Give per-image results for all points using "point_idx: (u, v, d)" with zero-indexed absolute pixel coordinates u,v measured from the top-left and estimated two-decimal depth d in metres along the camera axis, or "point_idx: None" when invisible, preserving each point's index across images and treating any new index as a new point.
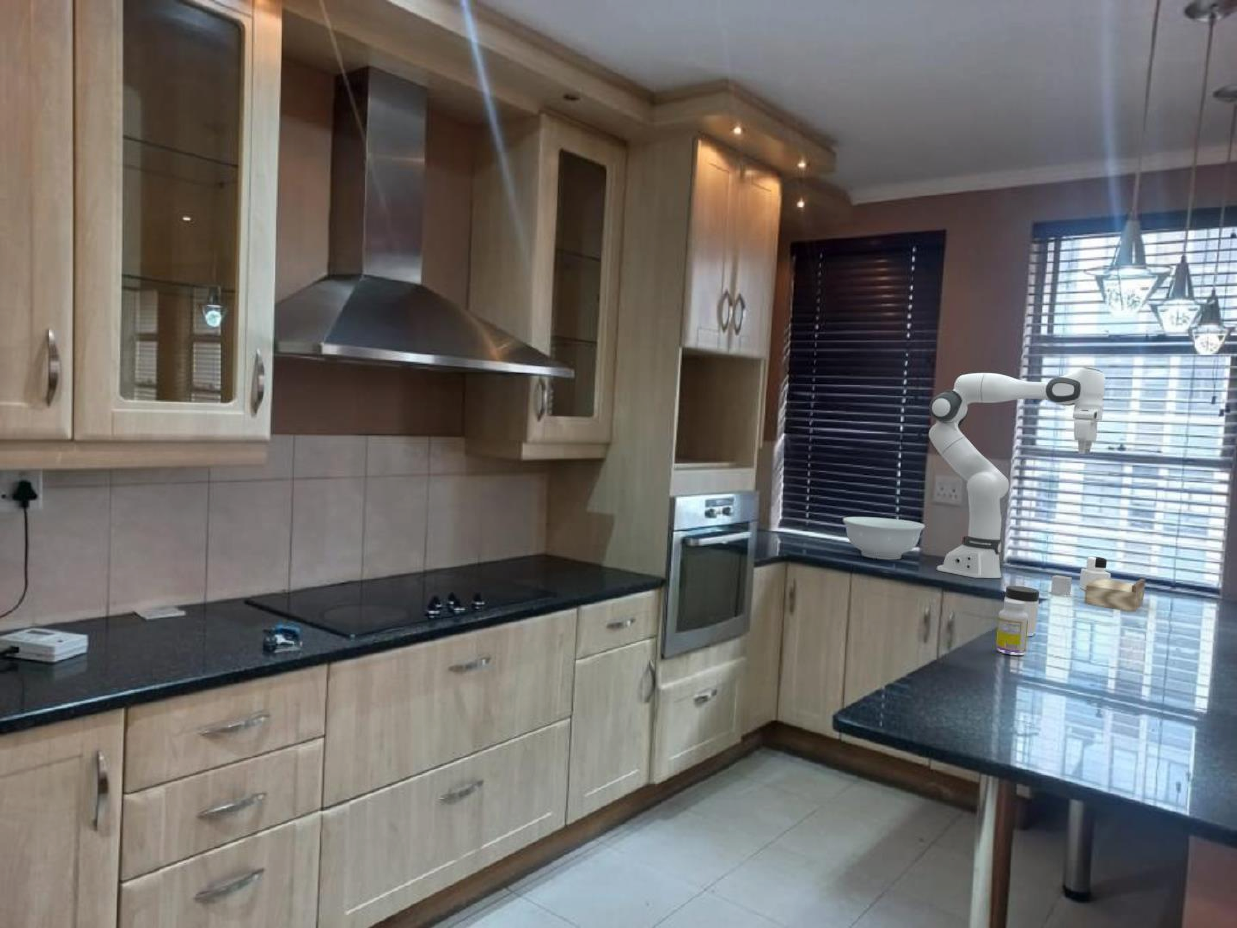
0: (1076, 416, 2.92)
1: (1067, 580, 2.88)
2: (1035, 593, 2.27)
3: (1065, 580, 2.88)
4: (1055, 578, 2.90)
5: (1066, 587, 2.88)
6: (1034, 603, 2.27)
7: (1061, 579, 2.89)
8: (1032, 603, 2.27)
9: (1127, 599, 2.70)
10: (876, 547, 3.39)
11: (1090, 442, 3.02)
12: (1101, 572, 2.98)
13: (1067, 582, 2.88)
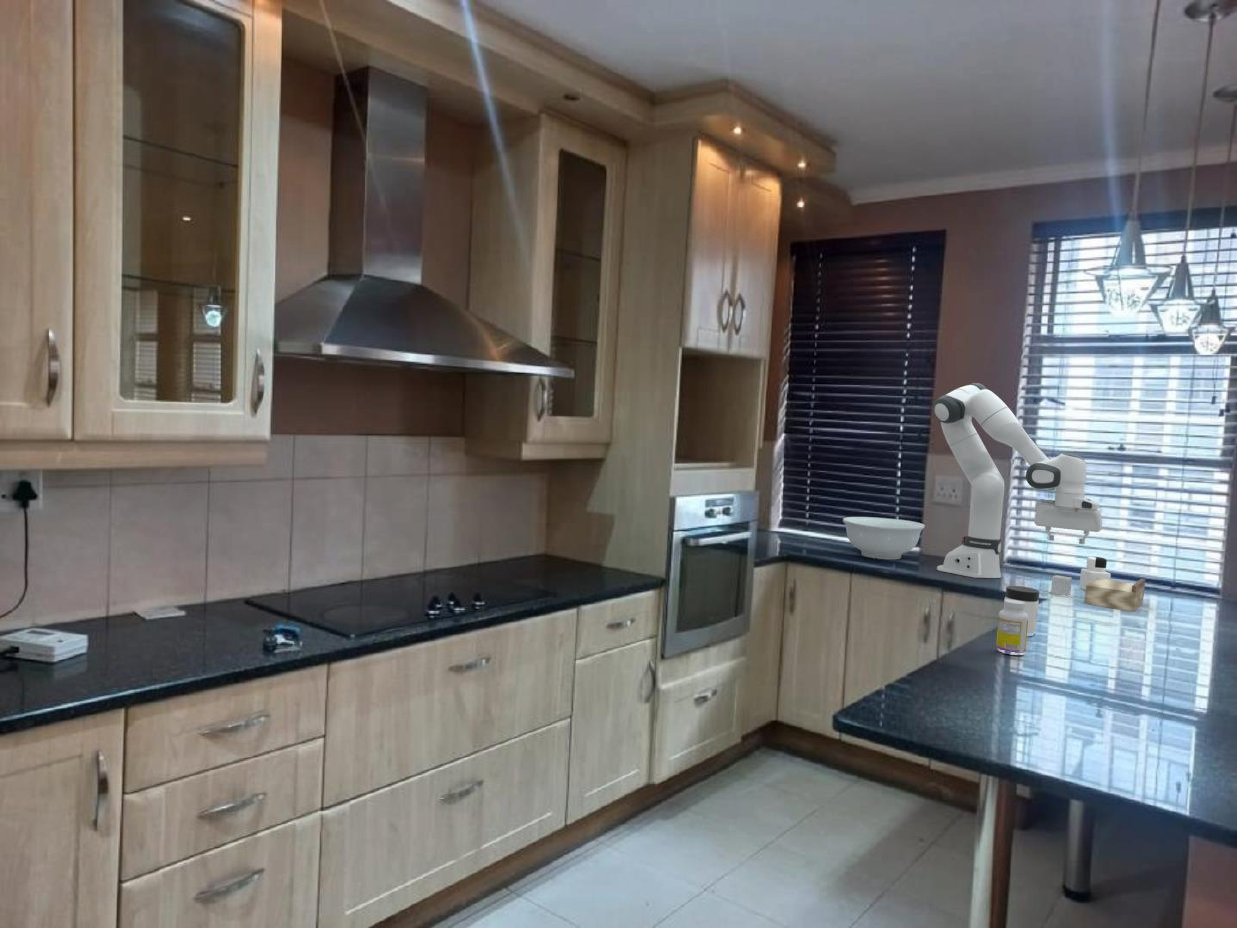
0: (1096, 507, 2.82)
1: (1067, 580, 2.88)
2: (1035, 593, 2.27)
3: (1065, 580, 2.88)
4: (1055, 578, 2.90)
5: (1066, 587, 2.88)
6: (1034, 603, 2.27)
7: (1061, 579, 2.89)
8: (1032, 603, 2.27)
9: (1127, 599, 2.70)
10: (876, 547, 3.39)
11: (1050, 528, 2.93)
12: (1101, 572, 2.98)
13: (1067, 582, 2.88)
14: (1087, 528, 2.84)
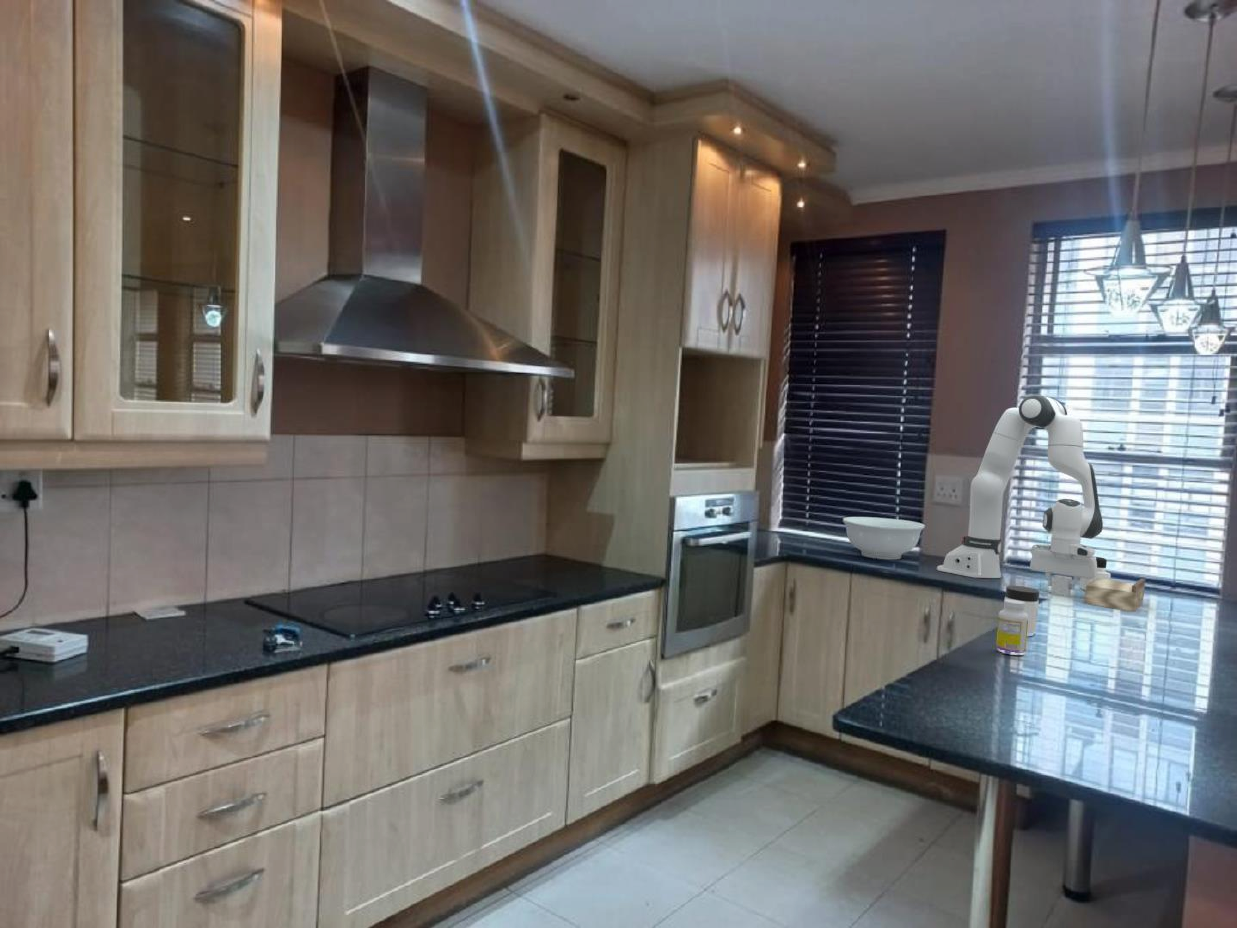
0: (1092, 554, 2.83)
1: (1067, 580, 2.88)
2: (1035, 593, 2.27)
3: (1065, 580, 2.88)
4: (1055, 578, 2.90)
5: (1066, 587, 2.88)
6: (1034, 603, 2.27)
7: (1061, 579, 2.89)
8: (1032, 603, 2.27)
9: (1127, 599, 2.70)
10: (876, 547, 3.39)
11: (1050, 573, 2.94)
12: (1101, 572, 2.98)
13: (1067, 582, 2.88)
14: (1082, 575, 2.85)
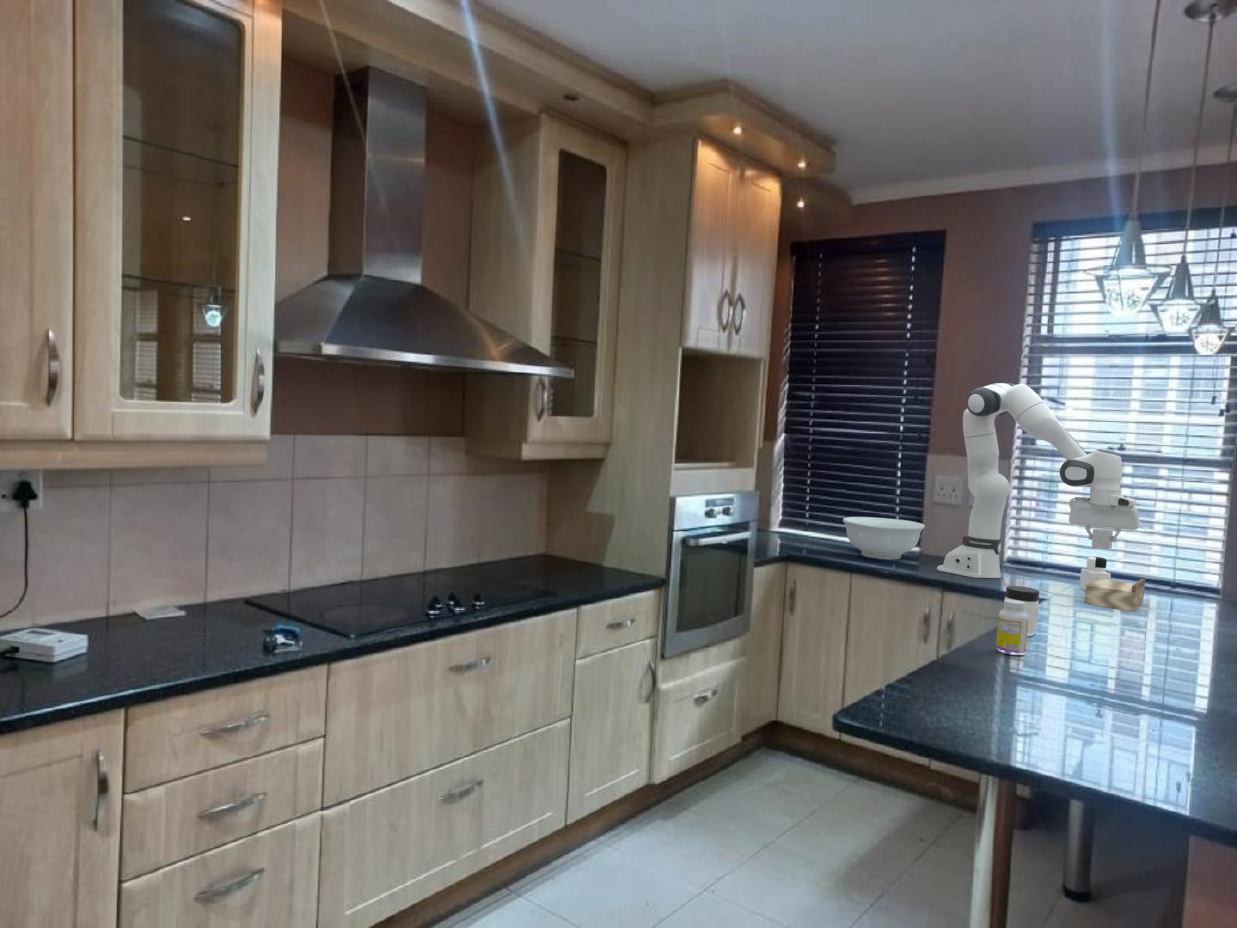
0: (1133, 504, 2.75)
1: (1108, 532, 2.79)
2: (1035, 593, 2.27)
3: (1106, 532, 2.79)
4: (1096, 531, 2.81)
5: (1107, 539, 2.79)
6: (1034, 603, 2.27)
7: (1102, 531, 2.80)
8: (1032, 603, 2.27)
9: (1127, 599, 2.70)
10: (876, 547, 3.39)
11: (1090, 526, 2.85)
12: (1101, 572, 2.98)
13: (1108, 534, 2.79)
14: (1124, 526, 2.77)
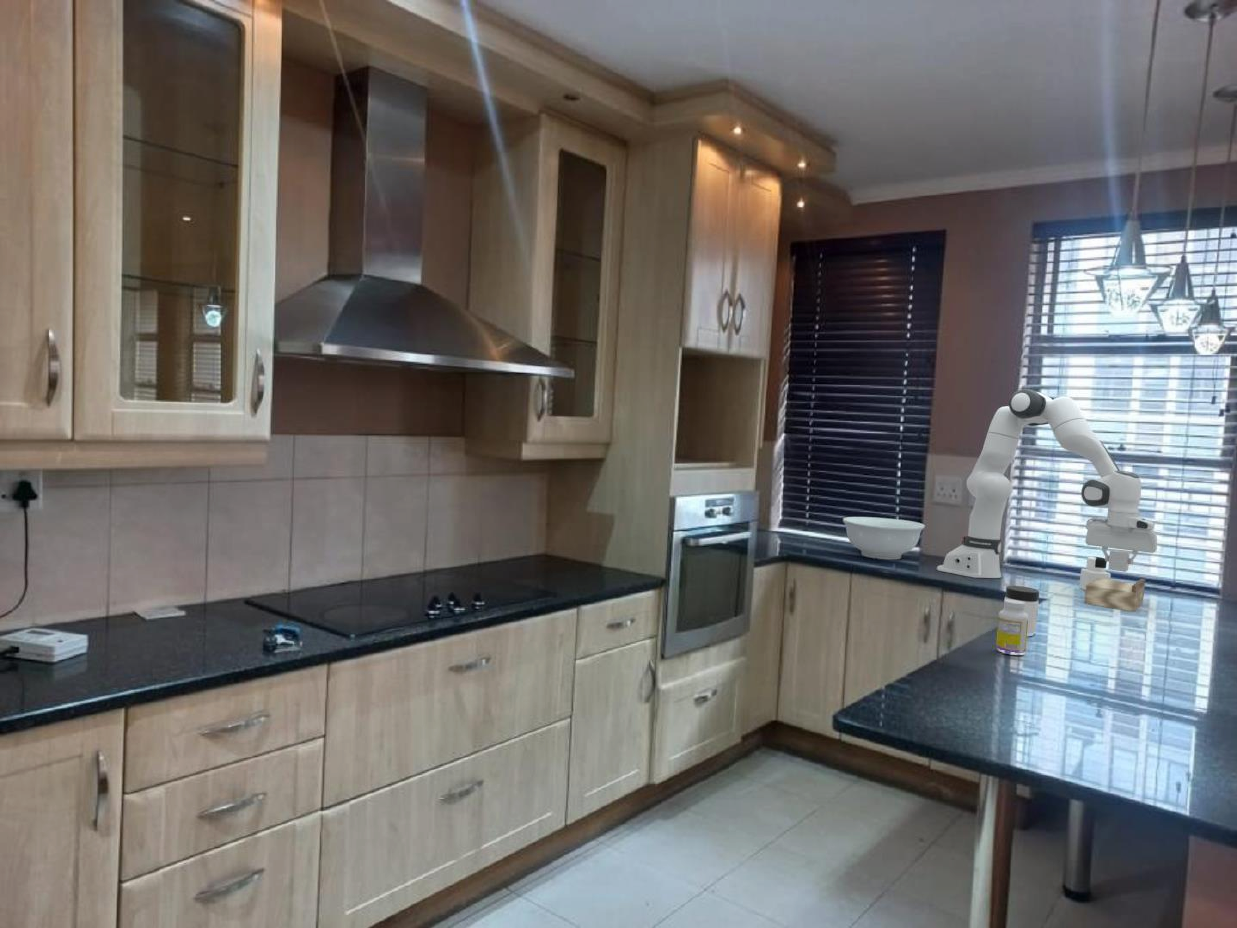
0: (1152, 527, 2.73)
1: (1126, 554, 2.77)
2: (1035, 593, 2.27)
3: (1123, 554, 2.78)
4: (1113, 553, 2.79)
5: (1125, 562, 2.77)
6: (1034, 603, 2.27)
7: (1119, 553, 2.78)
8: (1032, 603, 2.27)
9: (1127, 599, 2.70)
10: (876, 547, 3.39)
11: None
12: (1101, 572, 2.98)
13: (1126, 556, 2.77)
14: (1142, 548, 2.75)
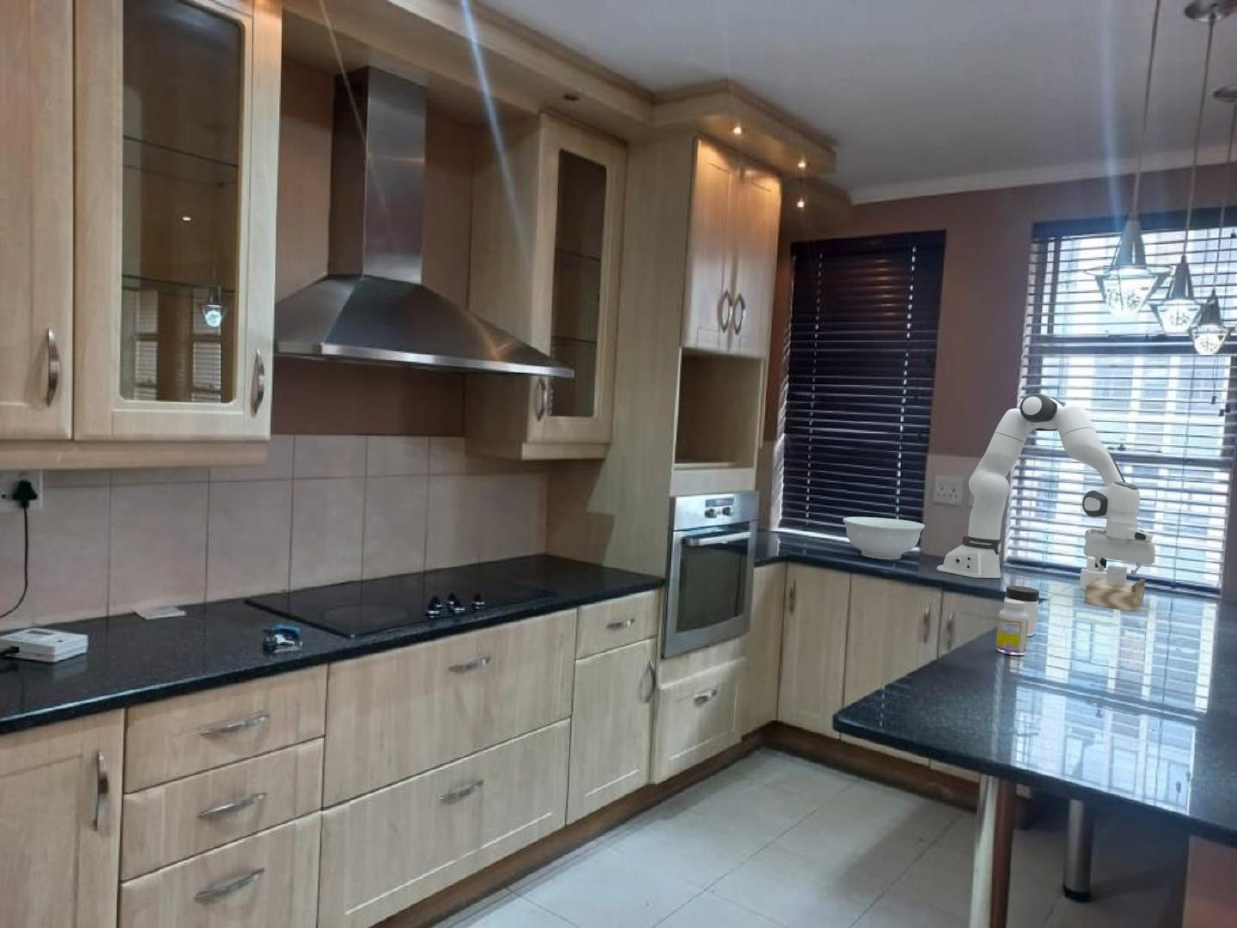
0: (1150, 539, 2.73)
1: (1123, 570, 2.77)
2: (1035, 593, 2.27)
3: (1121, 570, 2.78)
4: (1110, 568, 2.80)
5: (1122, 577, 2.78)
6: (1034, 603, 2.27)
7: (1117, 569, 2.79)
8: (1032, 603, 2.27)
9: (1127, 599, 2.70)
10: (876, 547, 3.39)
11: (1100, 558, 2.84)
12: (1101, 572, 2.98)
13: (1123, 572, 2.77)
14: (1140, 560, 2.75)
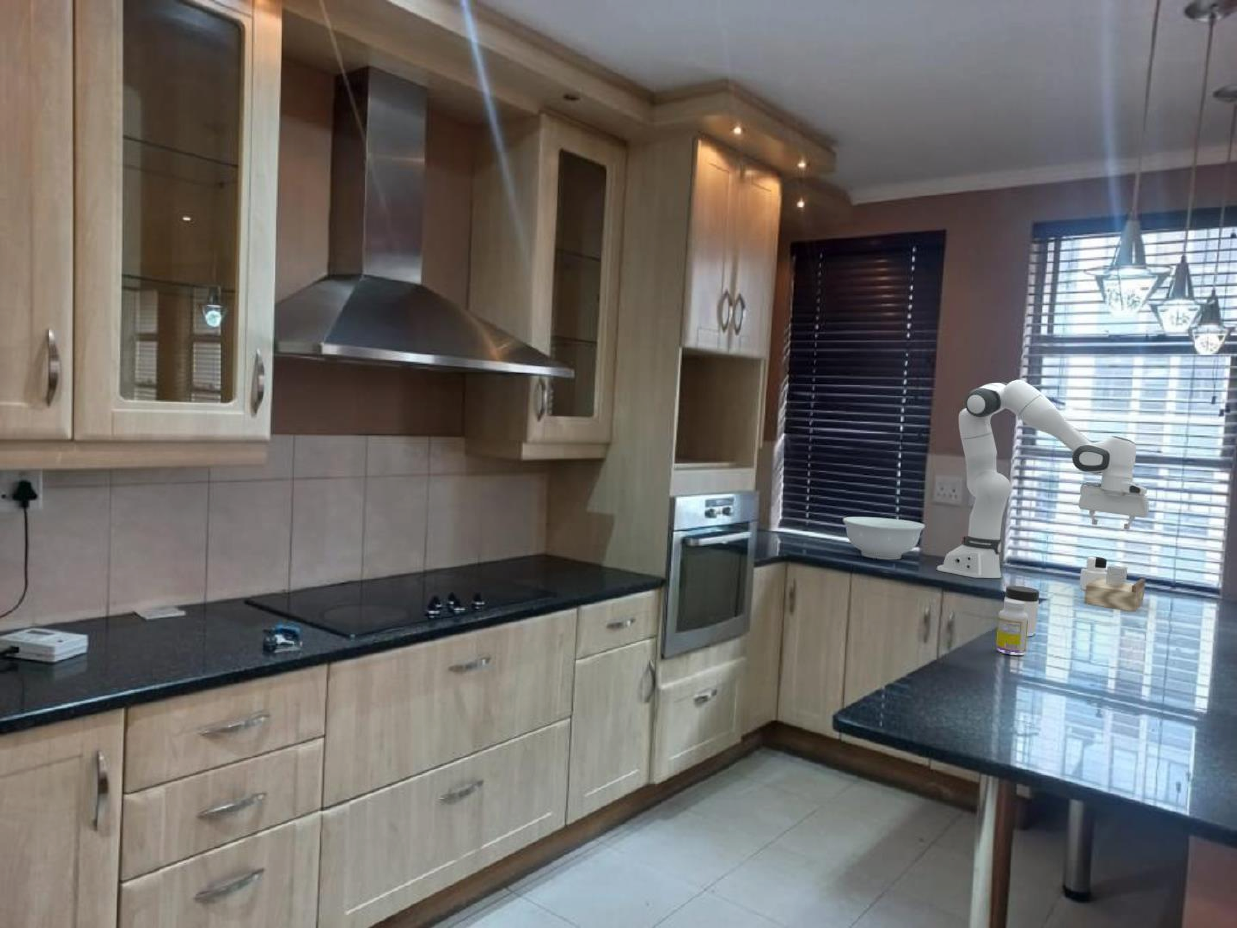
0: (1144, 492, 2.77)
1: (1123, 570, 2.77)
2: (1035, 593, 2.27)
3: (1121, 570, 2.78)
4: (1110, 568, 2.80)
5: (1122, 577, 2.78)
6: (1034, 603, 2.27)
7: (1117, 569, 2.79)
8: (1032, 603, 2.27)
9: (1127, 599, 2.70)
10: (876, 547, 3.39)
11: (1094, 512, 2.88)
12: (1101, 572, 2.98)
13: (1123, 572, 2.77)
14: (1133, 513, 2.79)
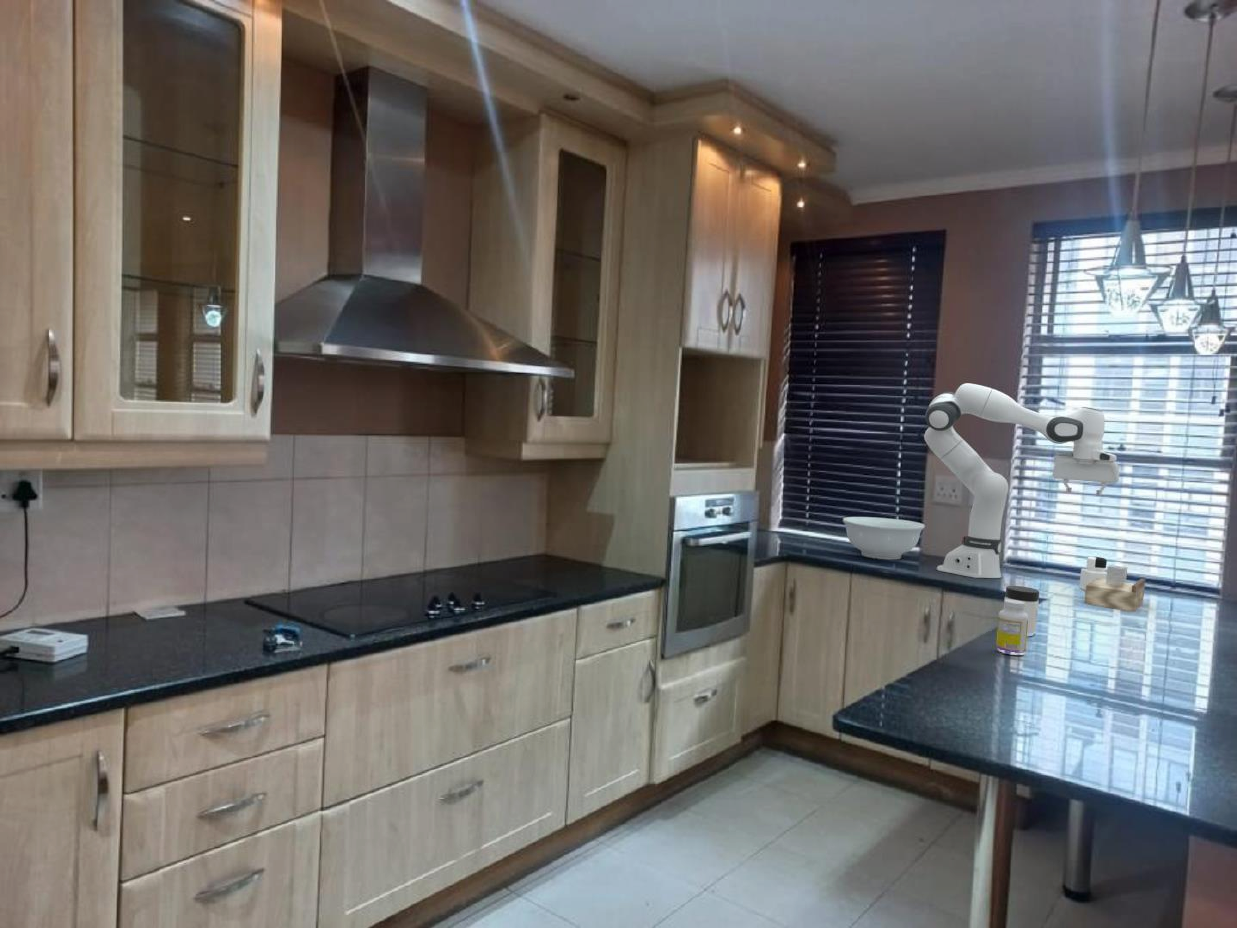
0: (1114, 459, 2.90)
1: (1123, 570, 2.77)
2: (1035, 593, 2.27)
3: (1121, 570, 2.78)
4: (1110, 568, 2.80)
5: (1122, 577, 2.78)
6: (1034, 603, 2.27)
7: (1117, 569, 2.79)
8: (1032, 603, 2.27)
9: (1127, 599, 2.70)
10: (876, 547, 3.39)
11: (1068, 480, 3.01)
12: (1101, 572, 2.98)
13: (1123, 572, 2.77)
14: (1104, 480, 2.91)
